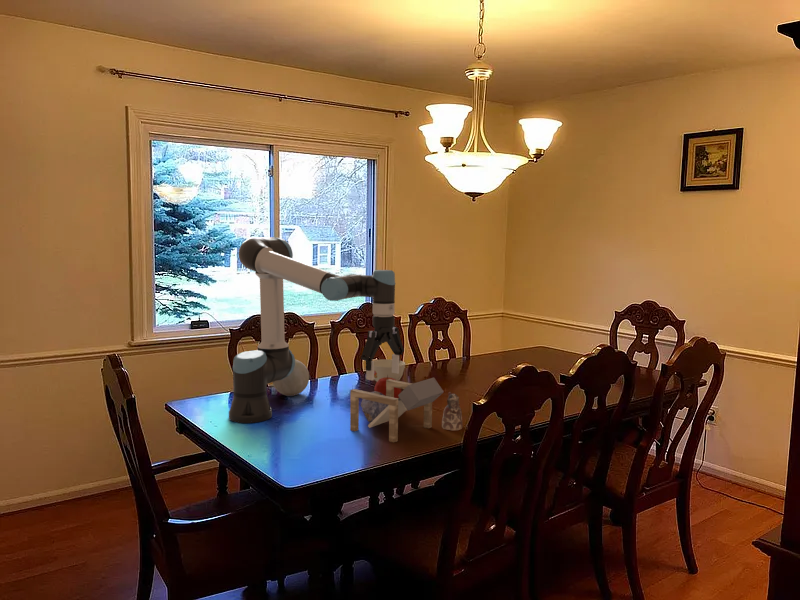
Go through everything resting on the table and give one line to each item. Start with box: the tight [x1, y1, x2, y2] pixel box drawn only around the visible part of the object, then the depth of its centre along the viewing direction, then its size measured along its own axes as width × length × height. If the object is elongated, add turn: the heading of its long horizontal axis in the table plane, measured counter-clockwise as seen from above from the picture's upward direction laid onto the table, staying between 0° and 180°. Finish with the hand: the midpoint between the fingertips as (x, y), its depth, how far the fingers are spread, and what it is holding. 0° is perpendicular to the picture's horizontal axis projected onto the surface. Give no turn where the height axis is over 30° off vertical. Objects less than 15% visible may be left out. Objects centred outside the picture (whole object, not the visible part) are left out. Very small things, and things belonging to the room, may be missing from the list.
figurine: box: [441, 391, 463, 432], centre depth 216 cm, size 7×7×12 cm
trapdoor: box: [367, 377, 444, 429], centre depth 209 cm, size 16×23×6 cm
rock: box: [360, 391, 388, 423], centre depth 220 cm, size 11×10×10 cm
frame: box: [349, 379, 433, 443], centre depth 213 cm, size 21×19×14 cm
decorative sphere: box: [272, 359, 310, 397], centre depth 255 cm, size 15×15×15 cm
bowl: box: [373, 358, 406, 382], centre depth 274 cm, size 16×16×10 cm
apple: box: [373, 375, 402, 398], centre depth 235 cm, size 10×10×14 cm
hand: (383, 376), depth 214 cm, fingers open, 13 cm apart
